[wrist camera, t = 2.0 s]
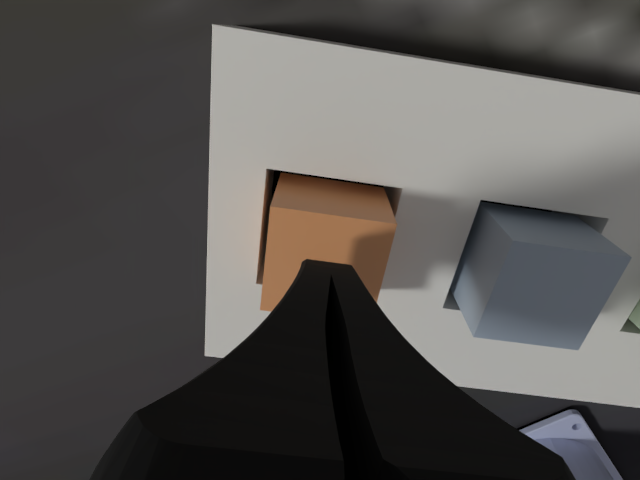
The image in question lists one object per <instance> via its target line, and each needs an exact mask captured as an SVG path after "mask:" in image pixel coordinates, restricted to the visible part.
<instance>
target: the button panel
mask: <svg viewBox="0 0 640 480" xmlns="http://www.w3.org/2000/svg"><path fill="white" fill-rule="evenodd" d="M274 170H280V171H287V172H294V173H301V174H307V175H314V176H321V177H328V178H335V179H342V180H348V181H355V182H362V183H369V184H376V185H383V186H384V189H385V192H386V195H387V197H388V200H389V203H390V206H391V208H392V211H393V214H394V217H395V219H396V222H397V227H396V231H395V235H394V239H393V243H392V246H391V250H390V254H389V258H388V262H387V266H386V269H385V273H384V277H383V281H382V285H381V289H380V293H379V296H378V300H377V304H378V305H379V307H380V308H381V310H382V311H383V312H384V314H385V315H386V316H387V318H388V319H389V320H390V321H391V323H392V324H393V325H394V326H395V327H396V329H397V330H398V331H399V332H400V333H401V334H402V336H403V337H404V338H405V339H406V340H407V341H408V342H409V343H410V344H411V345H412V346H413V347H414V348H415V349H416V350H417V351H418V352H419V353H420V354H421V355H422V356H423V357H424V358H425V359H426V360H427V361H428V362H429V363H430V364H431V365H432V366H434V367H435V368H436V369H437V370H438V371H439V372H440V373H441V374H443V375H444V376H445V377H446V378H447V379H449V380H450V381H451V382H452V383H453V384H455V385H456V386H461V387H470V388H478V389H486V390H495V391H503V392H512V393H520V394H528V395H537V396H545V397H553V398H562V399H570V400H578V401H587V402H595V403H603V404H612V405H620V406H628V407H637V408H640V329H639V328H638V327H637V326H636V325H635V324H634V323H633V322H632V321H631V320H629V319H628V317H629V315H630V314H631V312H632V311H633V309H634V307H635V306H636V304H637V302H638V301H639V299H640V92H635V91H629V90H623V89H617V88H610V87H604V86H598V85H592V84H586V83H580V82H574V81H568V80H562V79H556V78H550V77H544V76H538V75H532V74H526V73H520V72H514V71H508V70H502V69H495V68H489V67H483V66H477V65H471V64H465V63H459V62H453V61H447V60H441V59H435V58H429V57H423V56H417V55H411V54H405V53H399V52H393V51H387V50H380V49H374V48H368V47H362V46H356V45H350V44H344V43H338V42H332V41H326V40H320V39H314V38H308V37H302V36H296V35H290V34H284V33H278V32H272V31H265V30H259V29H253V28H247V27H241V26H235V25H214V24H212V63H211V107H210V150H209V193H208V237H207V280H206V324H205V356H211V357H219V358H224V357H225V356H226V355H227V354H229V353H230V352H231V351H232V350H233V349H234V348H236V347H237V346H238V345H239V344H240V343H241V342H243V341H244V340H245V339H246V338H247V337H248V336H249V335H250V334H251V333H252V332H253V331H254V330H255V329H256V328H257V327H258V326H259V325H260V324H261V323H262V322H263V321H264V320H265V319H266V318H267V316H268V315H269V314H270V313H271V311H263V310H260V305H261V295H262V284H263V274H264V264H265V254H266V244H267V234H268V224H269V214H270V205H271V197H272V187H273V177H274ZM481 200H485V201H492V202H499V203H506V204H512V205H519V206H526V207H533V208H540V209H547V210H552V212H555V213H561V214H568V215H575V216H577V217H579V218H580V219H581V220H583V221H584V222H585V223H587V224H588V225H589V226H591V227H592V228H593V229H595V230H596V231H597V232H599V233H600V234H601V235H603V236H604V237H605V238H607V239H608V240H609V241H611V242H612V243H613V244H615V245H616V246H617V247H619V248H620V249H621V250H623V251H624V252H625V253H627V254H628V255H629V256H631V257H632V258H631V260H630V262H629V264H628V265H627V267H626V269H625V270H624V272H623V274H622V276H621V277H620V279H619V281H618V283H617V284H616V286H615V288H614V290H613V291H612V293H611V295H610V296H609V298H608V300H607V302H606V303H605V305H604V307H603V309H602V310H601V312H600V314H599V315H598V317H597V319H596V321H595V322H594V324H593V326H592V328H591V329H590V331H589V333H588V334H587V336H586V338H585V340H584V341H583V343H582V345H581V347H580V348H579V350H571V349H563V348H555V347H547V346H539V345H531V344H524V343H516V342H508V341H500V340H492V339H484V338H476V337H473V335H472V333H471V331H470V329H469V327H468V325H467V323H466V321H465V319H464V317H463V314H462V312H461V310H460V308H459V306H458V304H457V302H456V300H455V298H454V296H453V294H452V291H451V289H450V285H451V283H452V280H453V277H454V274H455V271H456V269H457V266H458V263H459V260H460V257H461V254H462V252H463V249H464V246H465V243H466V240H467V237H468V235H469V232H470V229H471V226H472V223H473V221H474V218H475V215H476V212H477V209H478V206H479V204H480V201H481Z"/></svg>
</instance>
